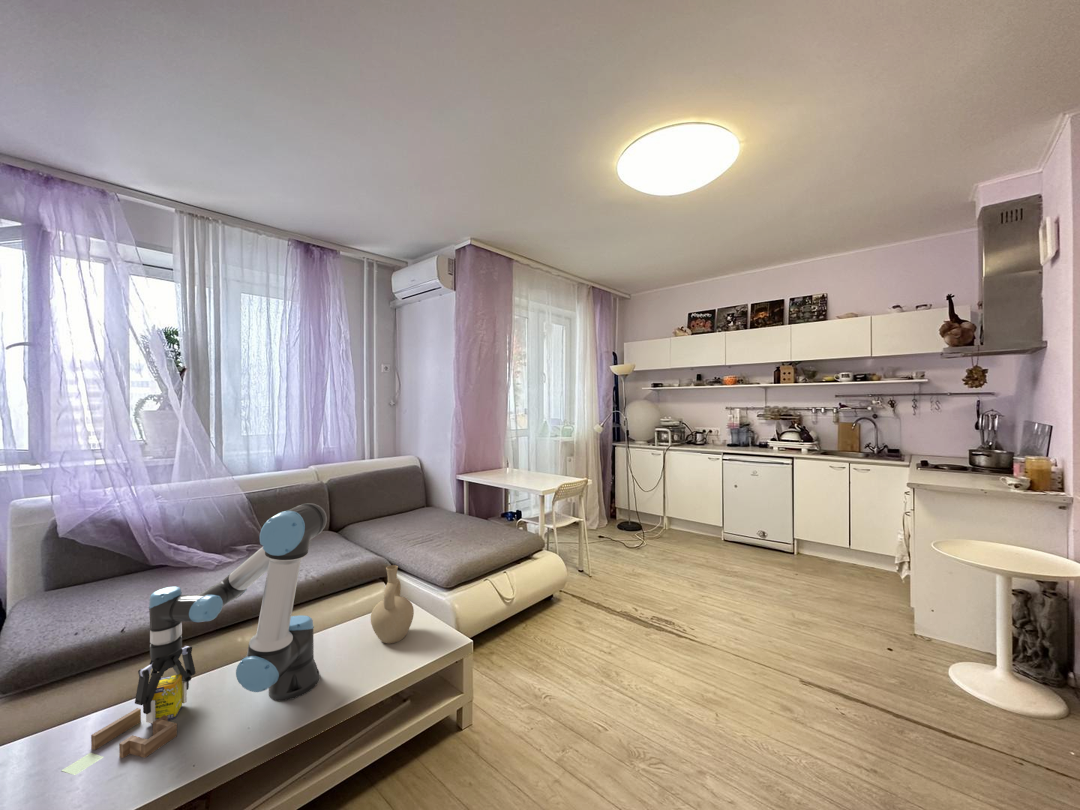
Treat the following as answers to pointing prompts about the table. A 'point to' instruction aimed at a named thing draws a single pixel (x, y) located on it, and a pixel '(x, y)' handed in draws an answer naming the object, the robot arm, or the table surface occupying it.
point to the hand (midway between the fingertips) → (167, 711)
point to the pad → (82, 764)
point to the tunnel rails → (134, 744)
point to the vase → (392, 611)
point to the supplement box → (168, 697)
